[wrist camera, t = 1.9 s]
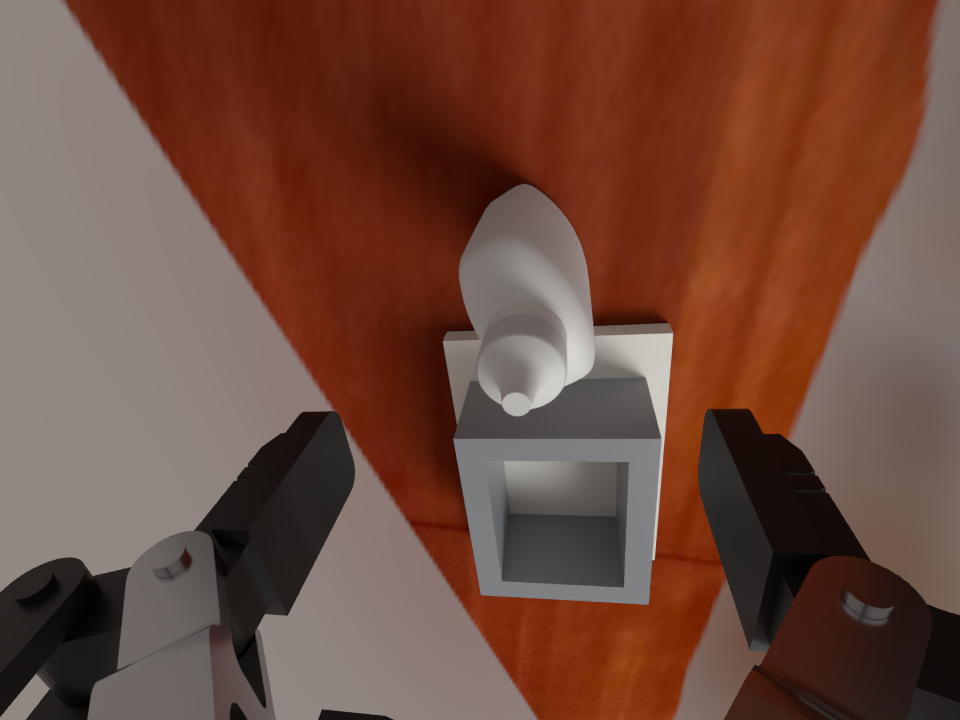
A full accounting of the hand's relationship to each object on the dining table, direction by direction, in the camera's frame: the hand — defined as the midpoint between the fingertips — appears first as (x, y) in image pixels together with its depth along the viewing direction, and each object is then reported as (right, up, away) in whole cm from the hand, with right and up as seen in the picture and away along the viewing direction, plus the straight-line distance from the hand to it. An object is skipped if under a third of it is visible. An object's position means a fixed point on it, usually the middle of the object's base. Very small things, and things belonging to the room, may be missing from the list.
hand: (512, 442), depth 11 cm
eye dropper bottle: (+2, +7, +11) cm, 13 cm away
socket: (+4, -3, +17) cm, 17 cm away
